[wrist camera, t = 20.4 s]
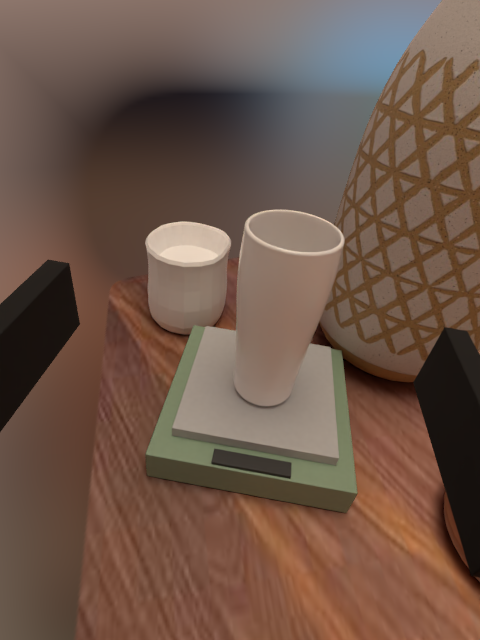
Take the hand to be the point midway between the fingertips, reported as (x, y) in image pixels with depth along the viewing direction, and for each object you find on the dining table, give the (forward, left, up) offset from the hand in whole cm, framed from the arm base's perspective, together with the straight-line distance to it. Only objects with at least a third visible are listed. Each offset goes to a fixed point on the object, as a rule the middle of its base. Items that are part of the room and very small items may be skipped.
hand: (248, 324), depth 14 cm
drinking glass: (+2, +13, -17) cm, 22 cm away
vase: (+16, +27, -21) cm, 38 cm away
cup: (-8, +27, -21) cm, 35 cm away
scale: (+2, +13, -21) cm, 25 cm away
